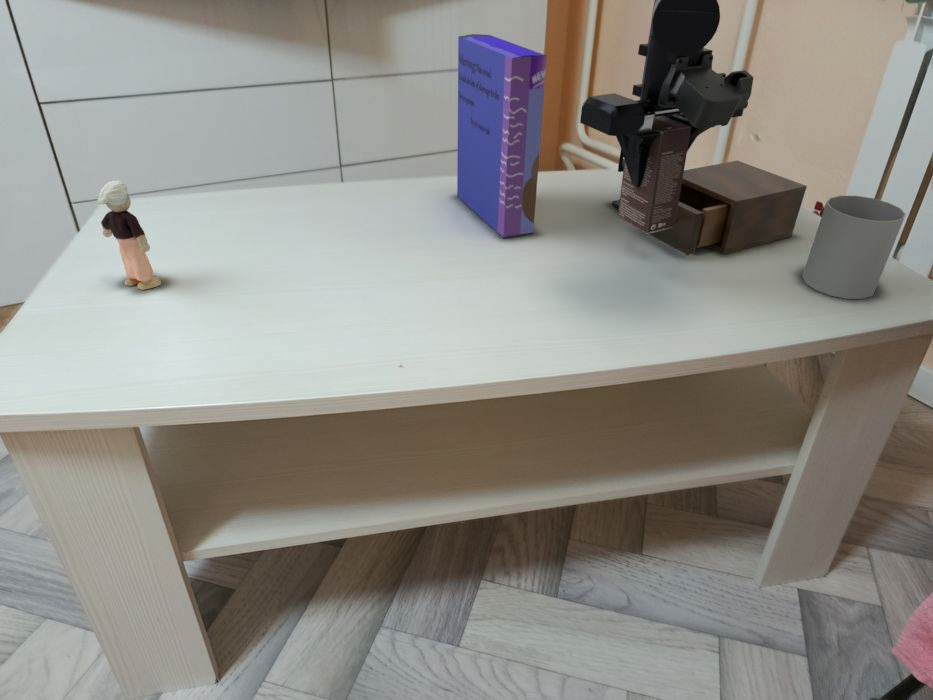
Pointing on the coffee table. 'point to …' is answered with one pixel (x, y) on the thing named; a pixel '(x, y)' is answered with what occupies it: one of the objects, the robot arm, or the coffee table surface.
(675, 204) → the box
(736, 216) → the cabinet
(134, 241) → the grandmother figurine
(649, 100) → the robot arm
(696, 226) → the drawer
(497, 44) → the cereal box
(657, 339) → the coffee table surface
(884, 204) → the cup
